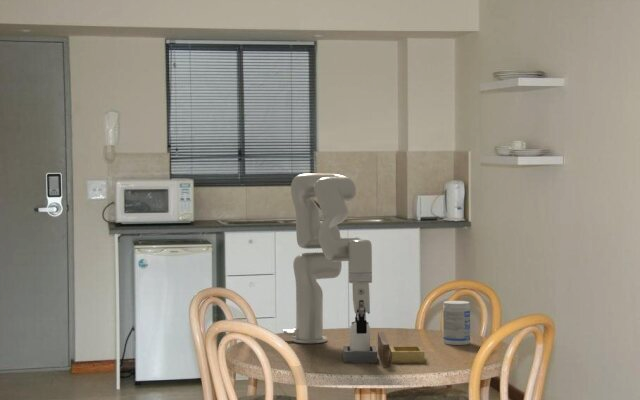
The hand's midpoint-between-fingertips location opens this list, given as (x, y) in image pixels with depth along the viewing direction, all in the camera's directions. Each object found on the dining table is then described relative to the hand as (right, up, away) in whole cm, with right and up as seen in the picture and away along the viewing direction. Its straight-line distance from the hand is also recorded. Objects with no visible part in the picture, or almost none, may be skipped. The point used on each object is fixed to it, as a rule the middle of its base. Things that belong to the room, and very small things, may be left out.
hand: (360, 331), depth 312 cm
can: (0, -10, +1) cm, 10 cm away
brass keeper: (+15, -9, +1) cm, 17 cm away
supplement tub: (+35, -9, +31) cm, 48 cm away
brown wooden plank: (+7, -9, +1) cm, 12 cm away
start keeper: (0, -9, +1) cm, 9 cm away
